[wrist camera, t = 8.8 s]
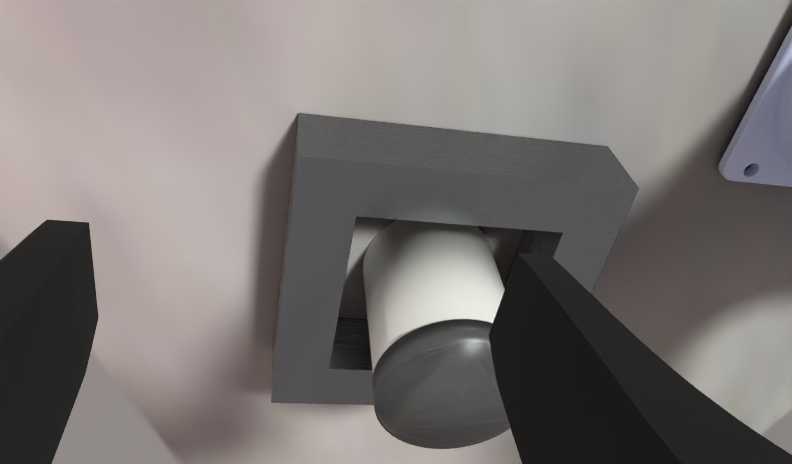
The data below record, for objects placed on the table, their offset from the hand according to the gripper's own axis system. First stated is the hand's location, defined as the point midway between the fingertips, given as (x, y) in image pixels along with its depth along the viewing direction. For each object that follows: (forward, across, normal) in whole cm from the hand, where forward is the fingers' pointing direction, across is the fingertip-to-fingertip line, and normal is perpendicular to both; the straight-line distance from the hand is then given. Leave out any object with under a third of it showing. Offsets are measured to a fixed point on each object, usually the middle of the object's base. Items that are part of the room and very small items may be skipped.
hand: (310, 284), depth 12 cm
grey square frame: (+9, -5, +6) cm, 12 cm away
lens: (+9, -5, +7) cm, 13 cm away
